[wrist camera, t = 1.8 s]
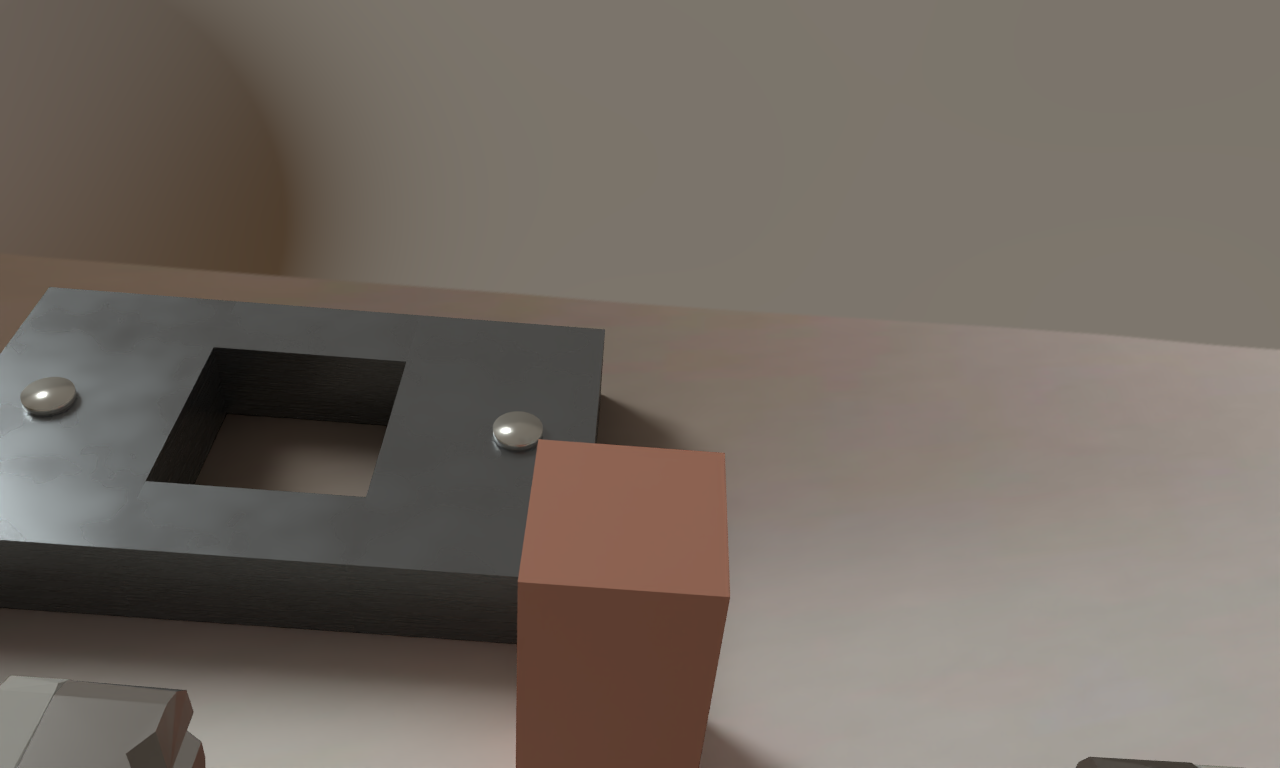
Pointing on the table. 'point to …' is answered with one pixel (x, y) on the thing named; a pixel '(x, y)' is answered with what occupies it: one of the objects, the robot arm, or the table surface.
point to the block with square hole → (266, 519)
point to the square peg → (620, 606)
